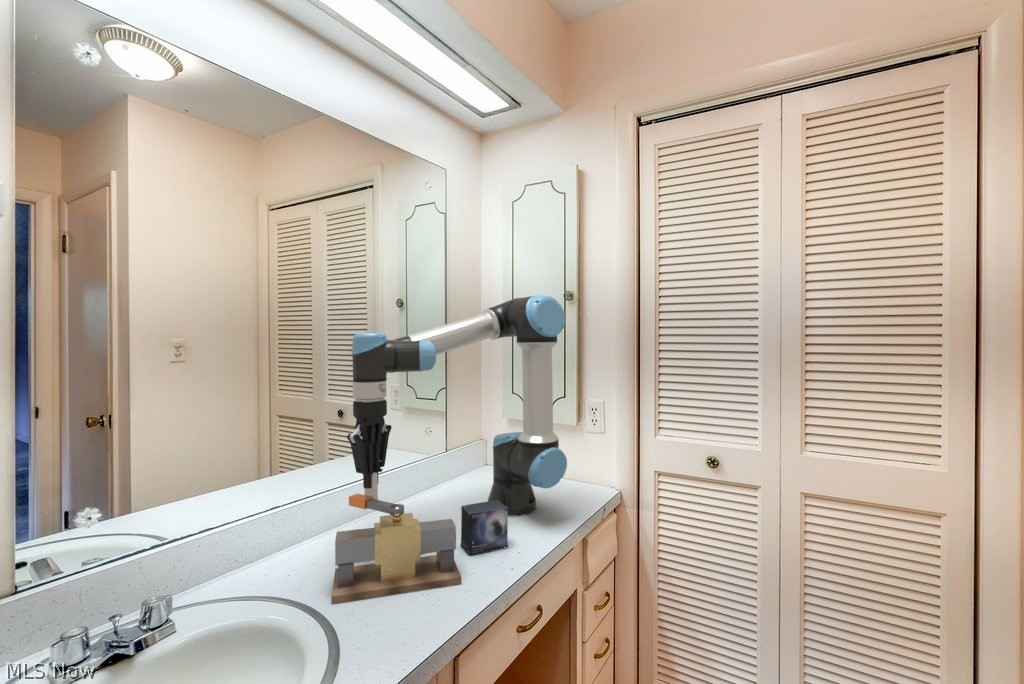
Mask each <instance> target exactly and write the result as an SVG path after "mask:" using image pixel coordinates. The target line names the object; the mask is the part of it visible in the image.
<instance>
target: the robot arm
mask: <svg viewBox="0 0 1024 684" xmlns="http://www.w3.org/2000/svg"><path fill="white" fill-rule="evenodd" d="M565 315H566V314H565V311H564V309H563V306H562V304H561V303H559V302H558V300H557V299H556V298H554V297H552V296H549V295H543V294H542V295H541V294H537V295H532V296H525V297H516V298H513V299H510V300H506V301H504V302H503V303H500V304H497V305H494V306H491V307H488V308H484V309H483V310H482V312H481V313H480V314H476V315H474V316H469V317H465V318H462V319H459V320H455V321H452V322H449V323H446V324H442V325H439V326H436V327H433V328H429V329H425V330H422V331H418V332H415V333H411V334H408V335H405V336H401V337H398V338H395V339H387V335H386V333H384V332H358V333H355V334H354V335H353V336H352V337H353V338H352V345H351V346H352V348H351V349H352V350H351V357H352V398H353V400H354V401H353V402H352V415H353V418H355V419H356V421H355V426H354V431H353V432H352V433H348V434H347V436H346V438H347V440H348V442H349V444H350V447H351V452H352V457H353V463H354V467H355V472H356V474H362V476H363V477H362V478H363V484H362V485H363V488H364V495H366V496H371V497H374V499H376V500H379V497H378V495H379V493H378V490H379V489H378V488H379V487H378V486H379V473H382V472H383V468H384V467H385V465H386V460H387V459H386V458H387V450H388V444H389V443H388V442H389V438H390V433H391V430H392V428H393V427H392V424H386V423H385V421H386V420H385V418H384V417H385V416H387V415H388V401H387V399H386V398H387V396H388V395H387V392H388V391H387V380H388V379H387V377H388V376H387V375H388V374H387V373H390V374H391V373H409V372H410V373H411V372H419V373H421V372H424V371H425V372H426V371H431V370H432V369H433V368H435V365H436V361H437V355H440V354H444V353H447V352H451V351H453V350H456V349H459V348H462V347H466V346H469V345H472V344H475V343H478V342H481V341H483V340H488V339H490V340H492V341H494V340H498V339H501V338H509V337H510V338H512V337H516V344H517V346H519V347H520V348H521V354H522V356H521V357H522V362H521V363H522V366H521V368H522V369H521V370H522V425H523V426H522V428H523V429H522V431H519V432H517V431H516V432H507V433H506V432H505V433H499V434H496V435H495V436H494V437H493V443H492V455H493V456H492V457H493V461H492V463H493V464H492V466H493V467H492V471H493V472H492V475H493V477H492V478H493V479H492V480H493V481H492V486H491V488H490V490H489V491H490V492H489V496H488V498H487V502H488V501H493V500H499V501H500V502H501V503H503V504H504V505H505V506H507V507H508V515H516V516H523V515H522V514H524V515H527V514H526V513H528V514H530V513H529V512H531V513H533V512H534V511H535V510H536V509H537V498H536V495H535V493H534V492H535V491H534V489H533V487H536V488H541V489H551V488H552V487H555V486H556V485H558V483H560V482H561V479H563V477H564V475H565V474H566V472H567V467H568V460H567V456H566V454H565V453H564V451H563V450H562V449H560V448H559V446H560V443H559V436H558V435H557V434H555V432H554V412H553V411H554V410H553V409H554V407H553V406H554V405H553V404H554V403H553V402H554V399H553V398H554V396H553V395H554V394H553V393H554V392H553V391H554V390H553V389H554V388H553V348H554V347H555V346H556V345H557V344H558V335H559V334H561V333H562V331H563V329H564V327H565V324H566V316H565ZM532 511H533V512H532Z"/></svg>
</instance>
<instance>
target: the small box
mask: <svg viewBox="0 0 1024 684" xmlns="http://www.w3.org/2000/svg"><path fill="white" fill-rule="evenodd" d="M460 510H461V517H460V518H461V519H460V520H461V522H460V523H461V527H460V535H461V536H460V547H461V548H462V549H463V550H464V551H465V552H466V553H467V555H468V556H470V555H471V556H474V555H479V553H480V554H484V553H488V552H487V551H489V552H492V551H491V550H494V551H497V550H496V549H498V550H501V549H500V548H503V549H505V548H504V547H507V548H508V534H509V533H508V530H509V529H508V528H509V527H508V525H509V524H508V523H509V522H508V519H509V516H508V507H507V506H505V505H504V504H503V503H501V502H500V501H499V500H493V501H488V500H487V501H483V502H482V501H481V502H476V503H469V504H466V505H465V504H464V505H461V509H460ZM483 552H484V553H483Z"/></svg>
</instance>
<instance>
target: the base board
mask: <svg viewBox="0 0 1024 684" xmlns="http://www.w3.org/2000/svg"><path fill="white" fill-rule="evenodd" d="M334 569H335V570H334V576H333V584H332V592H331V605H334V604H335V605H336V604H342V603H348V602H354V601H360V600H361V601H363V600H369V599H374V598H380V597H387V596H394V595H400V594H406V593H414V592H419V591H425V590H432V589H439V588H446V587H451V586H458V585H462V575H461V573H460V571H459V568H458V565H457V563H456V561H455V559H454V571H452V572H445V573H440V570H439V567H438V564H437V554H435V555H425V556H421V559H417V560H415V578H412V579H406V580H399V581H392V582H385V583H381V574H380V565H375V562H374V563H373V562H372V563H367V564H359V565H354V583H353V586H350V587H343V588H338V567H337V568H334Z"/></svg>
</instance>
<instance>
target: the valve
mask: <svg viewBox="0 0 1024 684" xmlns="http://www.w3.org/2000/svg"><path fill="white" fill-rule="evenodd" d="M373 524H374V527H368V528H360V529H359V528H358V529H352V530H341V531H340V530H339V531H336V533H335V541H334V545H335V546H334V547H335V549H334V551H335V555H334V556H335V559H334V560H335V561H334V563H335V564H334V565H335V566H337V568H338V588H343V587H350V586H353V583H354V566H355V564H358V563H365V562H371V561H372V562H373V561H374V563H375V565H380V574H381V583H385V582H392V581H399V580H406V579H412V578H415V560H417V559H421V557H422V556H421V555H424V554H425V555H426V554H431V553H433V554H434V553H436V555H437V564H438V567H439V570H440V573H445V572H452V571H454V560H455V550H456V551H457V526H456V524H455V523H454V520H453V518H446V519H438V520H437V519H436V520H429V521H428V520H427V521H420V522H419V519H418V518H414V515H413V512H407V513H406V512H405V513H404V514H402V515H399V516H392V515H390V514H389V515H380V516H379V522H374V523H373Z"/></svg>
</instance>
